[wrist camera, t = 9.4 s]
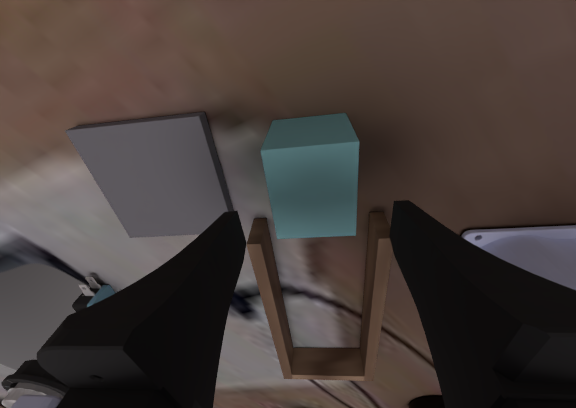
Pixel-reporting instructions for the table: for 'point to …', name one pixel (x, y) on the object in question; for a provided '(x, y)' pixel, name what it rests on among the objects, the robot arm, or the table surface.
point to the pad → (156, 172)
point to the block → (312, 176)
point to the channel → (377, 271)
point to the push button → (30, 372)
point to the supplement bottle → (428, 402)
